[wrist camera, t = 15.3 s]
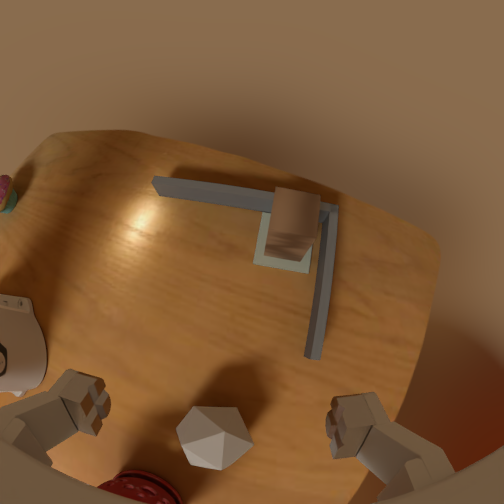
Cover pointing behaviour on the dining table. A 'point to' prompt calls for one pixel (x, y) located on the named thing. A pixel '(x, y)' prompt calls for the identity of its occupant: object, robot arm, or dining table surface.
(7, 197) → the cupcake
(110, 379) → the dining table surface
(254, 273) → the dining table surface
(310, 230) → the walnut block
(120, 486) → the plant pot
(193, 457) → the die
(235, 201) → the grey l-shaped bracket
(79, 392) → the robot arm
